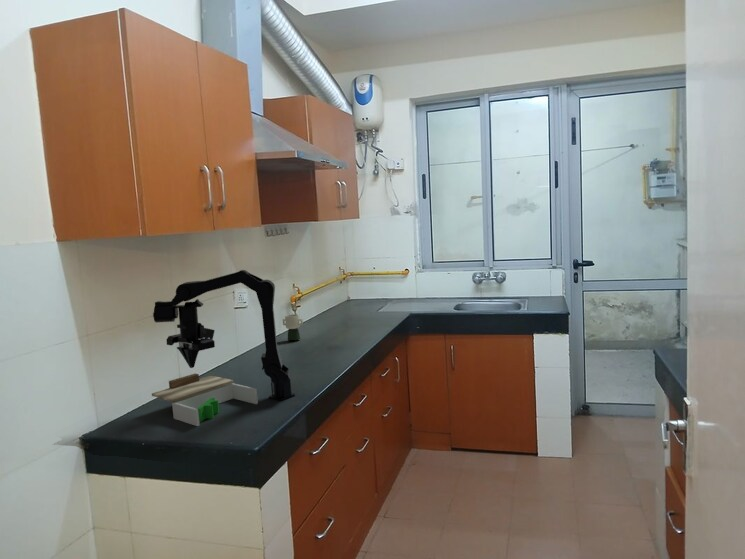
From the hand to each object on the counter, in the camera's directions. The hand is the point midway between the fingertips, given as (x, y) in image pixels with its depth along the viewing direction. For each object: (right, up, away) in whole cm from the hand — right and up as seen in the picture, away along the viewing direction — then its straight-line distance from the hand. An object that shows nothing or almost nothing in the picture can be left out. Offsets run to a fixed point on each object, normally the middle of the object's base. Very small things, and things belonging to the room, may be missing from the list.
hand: (191, 367), depth 176 cm
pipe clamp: (+9, -14, -10) cm, 19 cm away
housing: (+10, -13, -6) cm, 17 cm away
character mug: (+20, -2, +93) cm, 96 cm away
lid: (0, -7, +1) cm, 7 cm away
